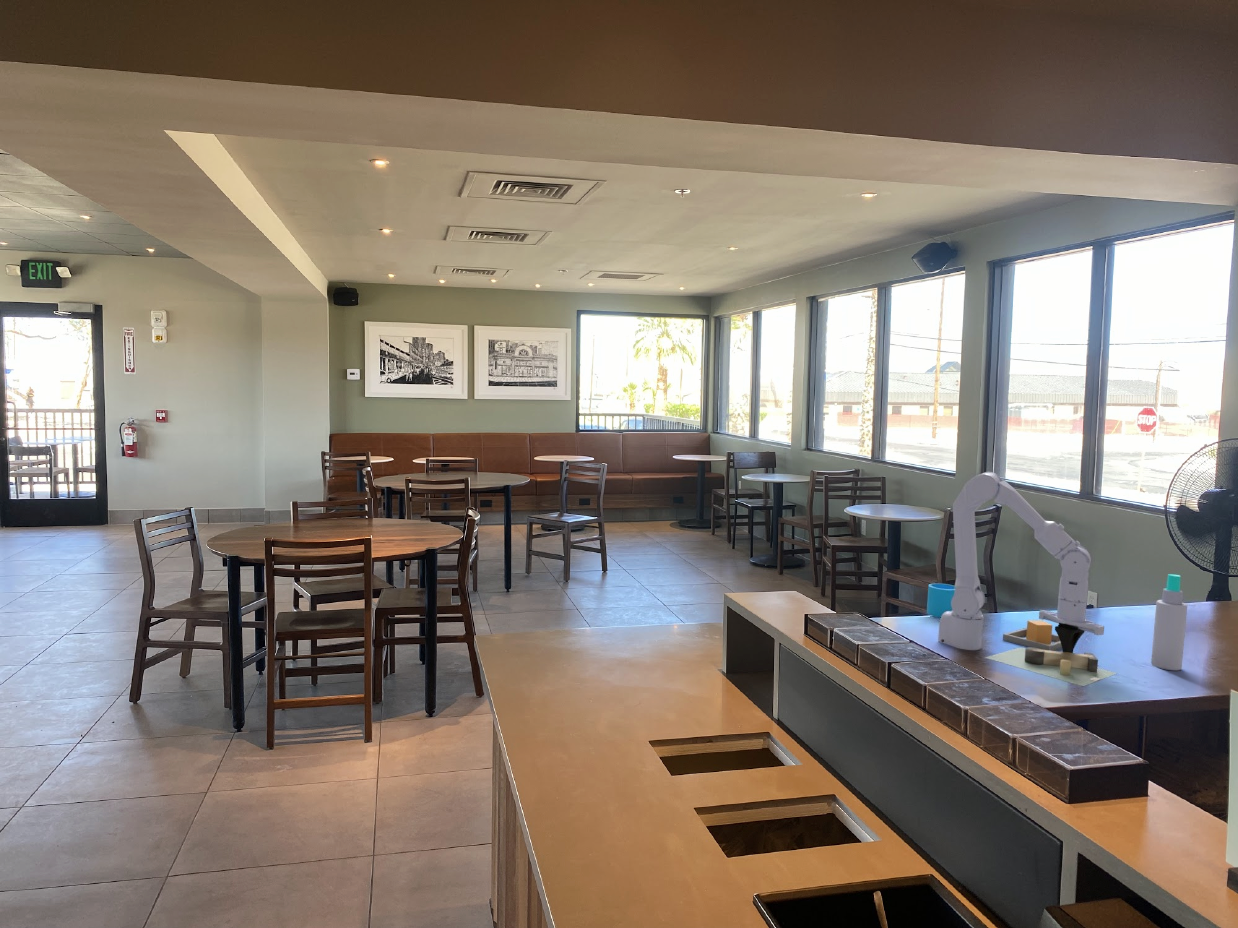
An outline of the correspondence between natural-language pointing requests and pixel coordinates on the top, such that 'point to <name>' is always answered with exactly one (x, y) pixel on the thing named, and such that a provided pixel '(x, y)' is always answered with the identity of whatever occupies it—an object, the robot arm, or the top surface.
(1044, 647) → the tray
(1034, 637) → the orange block
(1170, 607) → the spray bottle
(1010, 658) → the base plate
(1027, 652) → the lever
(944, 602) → the mug
